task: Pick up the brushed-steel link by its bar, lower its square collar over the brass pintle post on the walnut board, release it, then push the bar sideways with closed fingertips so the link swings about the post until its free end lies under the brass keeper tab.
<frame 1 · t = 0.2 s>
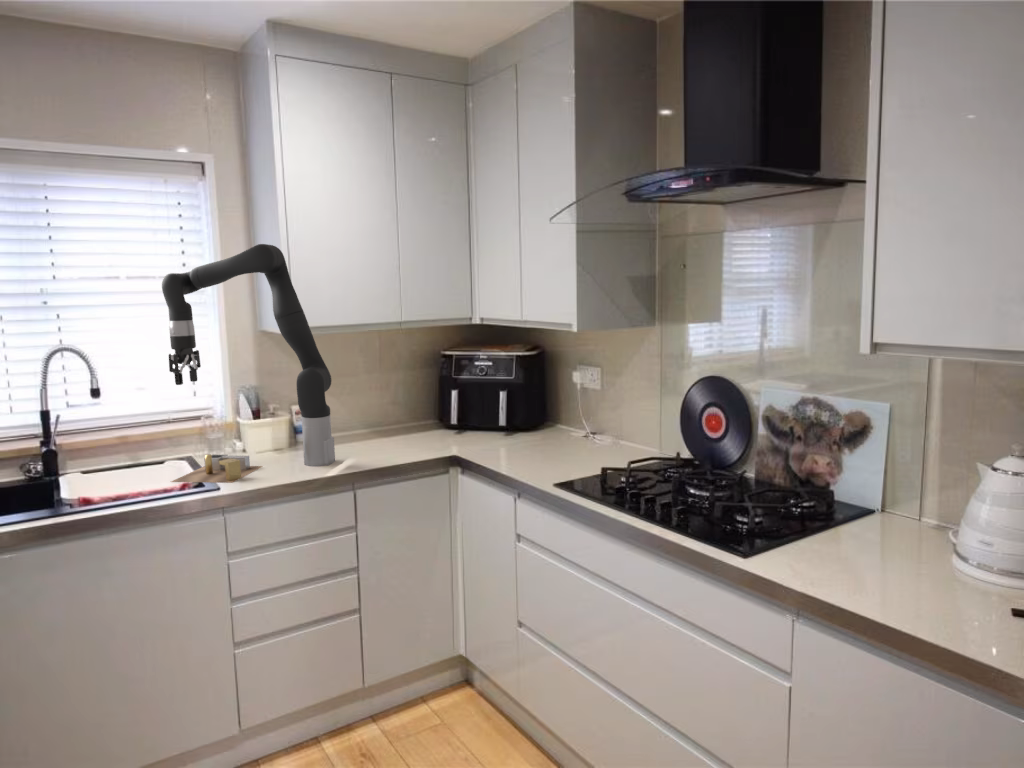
hand: (186, 383, 241), 28 cm above the worktop, fingers open, 8 cm apart
keeper: (230, 469, 222), on the board, point 4 cm above the worktop
link: (247, 468, 234), point 1 cm above the worktop, touching board
board: (218, 477, 228), on the worktop
pintle: (208, 464, 228), on the board, point 4 cm above the worktop
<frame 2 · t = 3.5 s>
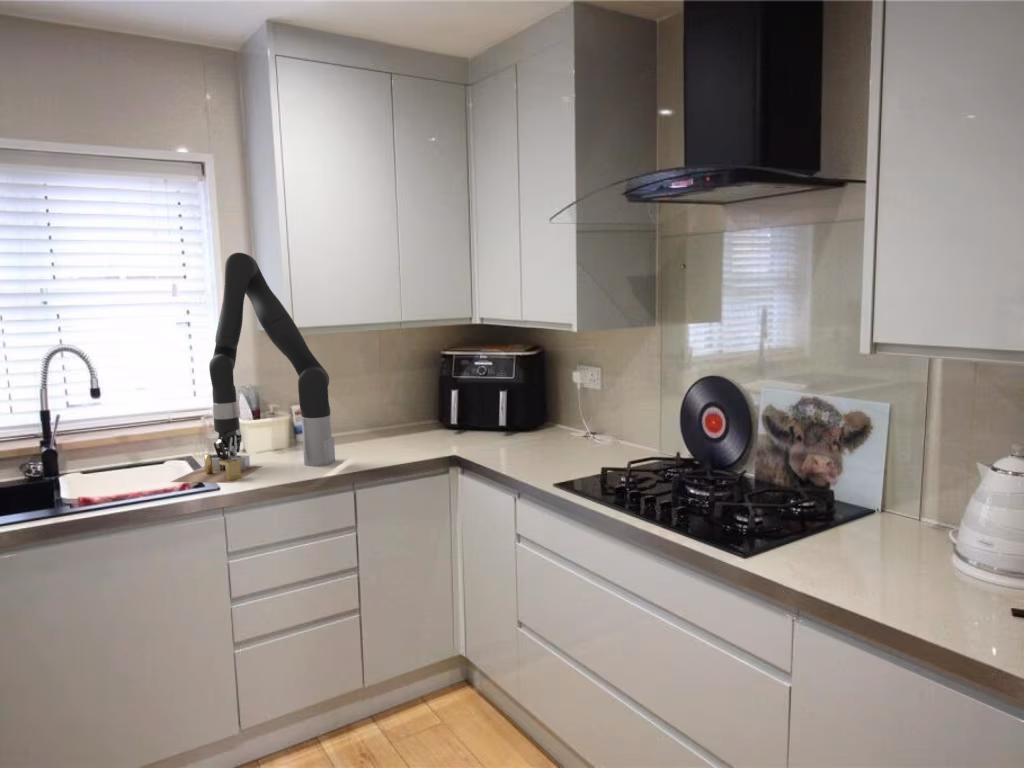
hand: (230, 468, 235), 1 cm above the worktop, fingers closed on link, 3 cm apart
link: (247, 468, 234), point 1 cm above the worktop, touching board, gripper
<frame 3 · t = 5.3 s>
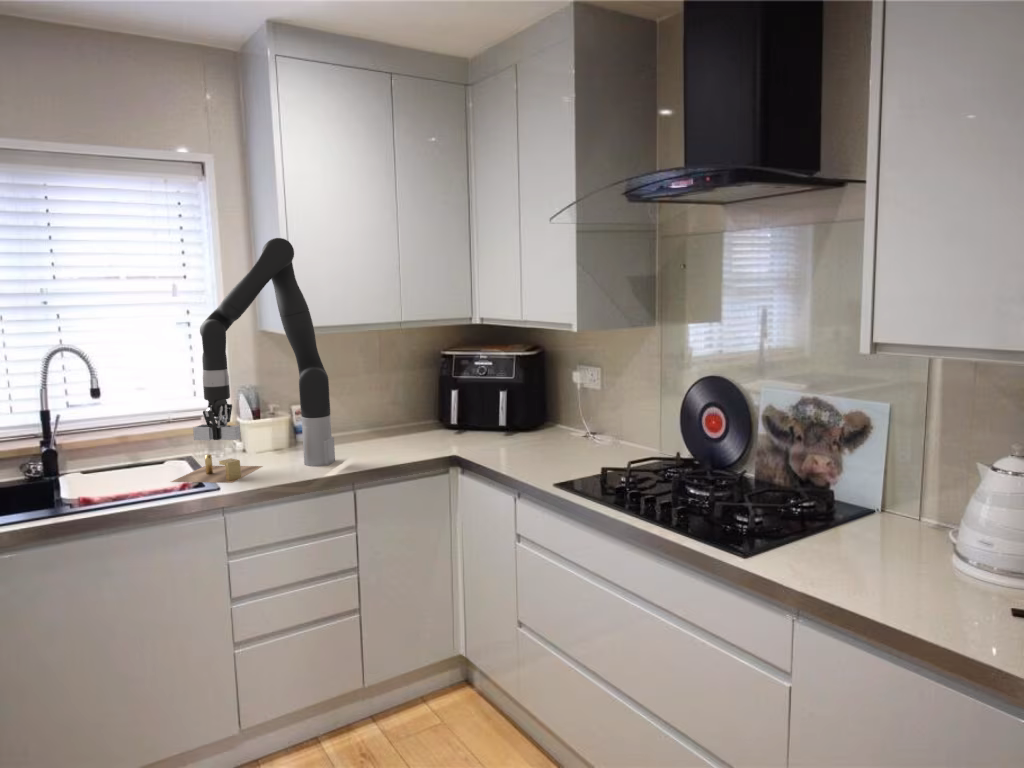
hand: (219, 438, 227), 13 cm above the worktop, fingers closed on link, 3 cm apart
link: (238, 438, 226), point 12 cm above the worktop, touching gripper
when the fingers open (2 cm above the worktop, at t = 7.3 s): link stays where it is, resting on board.
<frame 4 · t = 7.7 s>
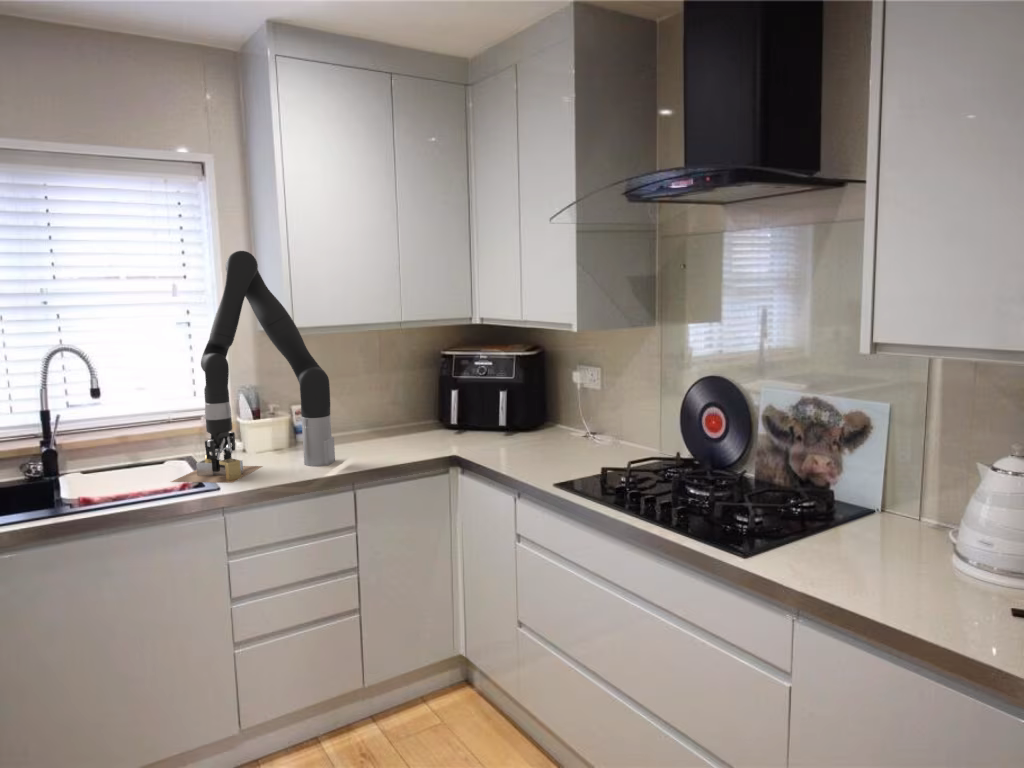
hand: (222, 468, 228), 3 cm above the worktop, fingers open, 6 cm apart
link: (241, 473, 227), point 1 cm above the worktop, touching board
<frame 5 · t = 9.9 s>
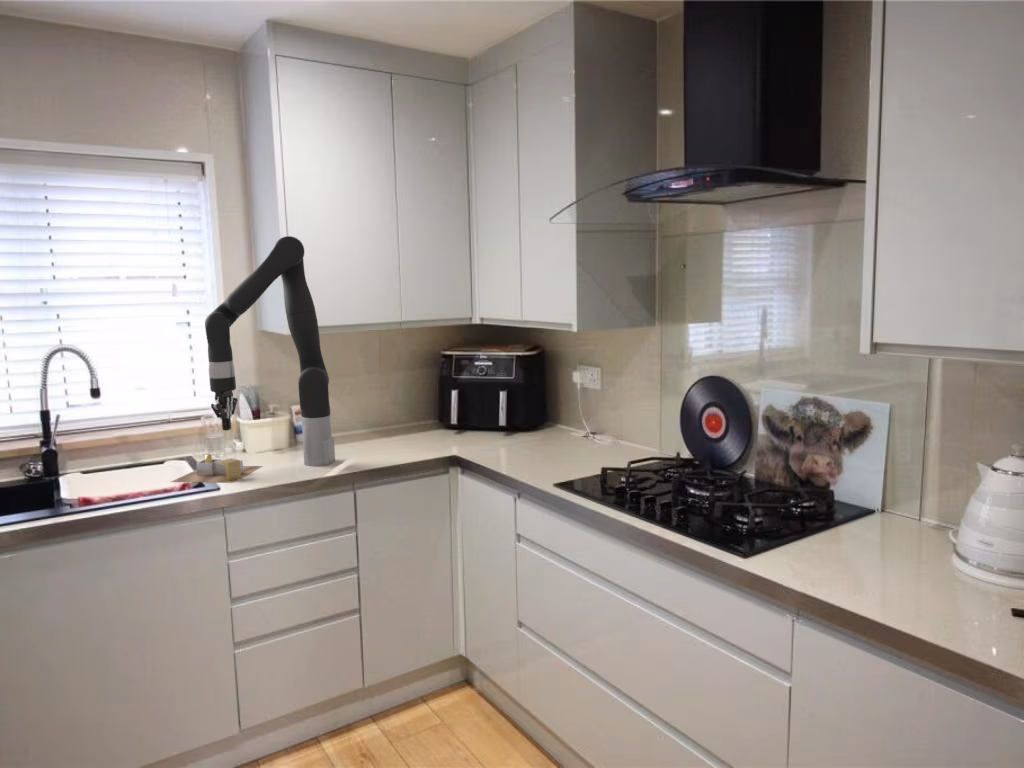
hand: (227, 429, 229), 15 cm above the worktop, fingers closed
nothing on the worktop moved.
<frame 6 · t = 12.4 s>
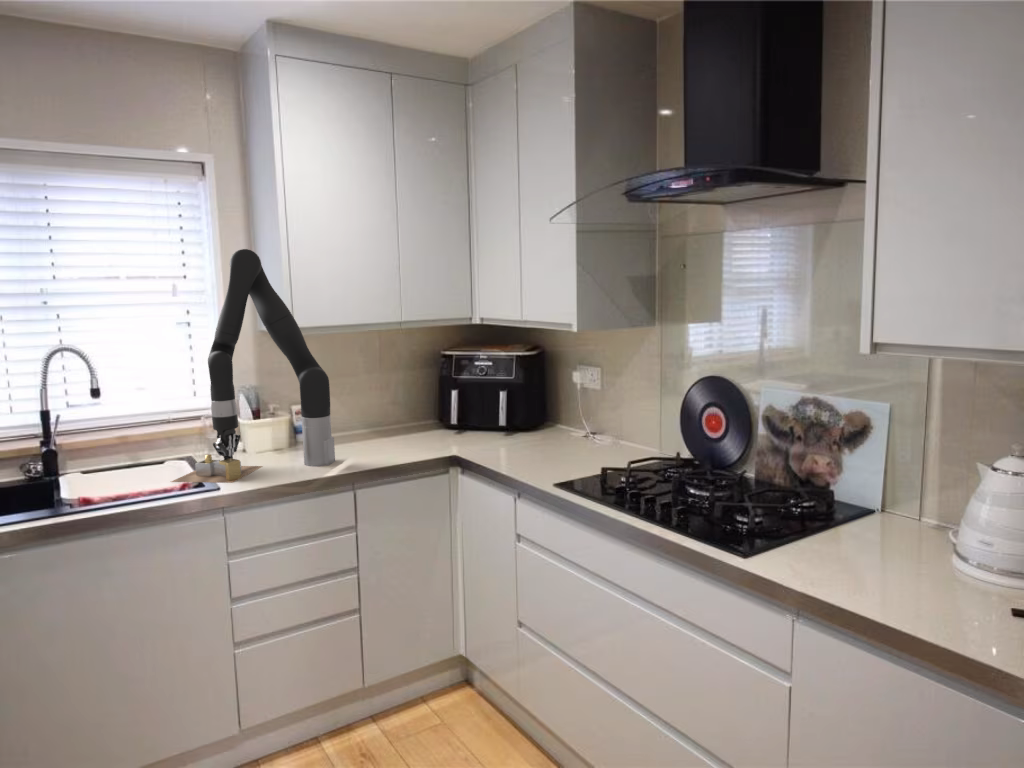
hand: (229, 467, 230), 3 cm above the worktop, fingers closed
link: (238, 475, 226), point 1 cm above the worktop, touching gripper
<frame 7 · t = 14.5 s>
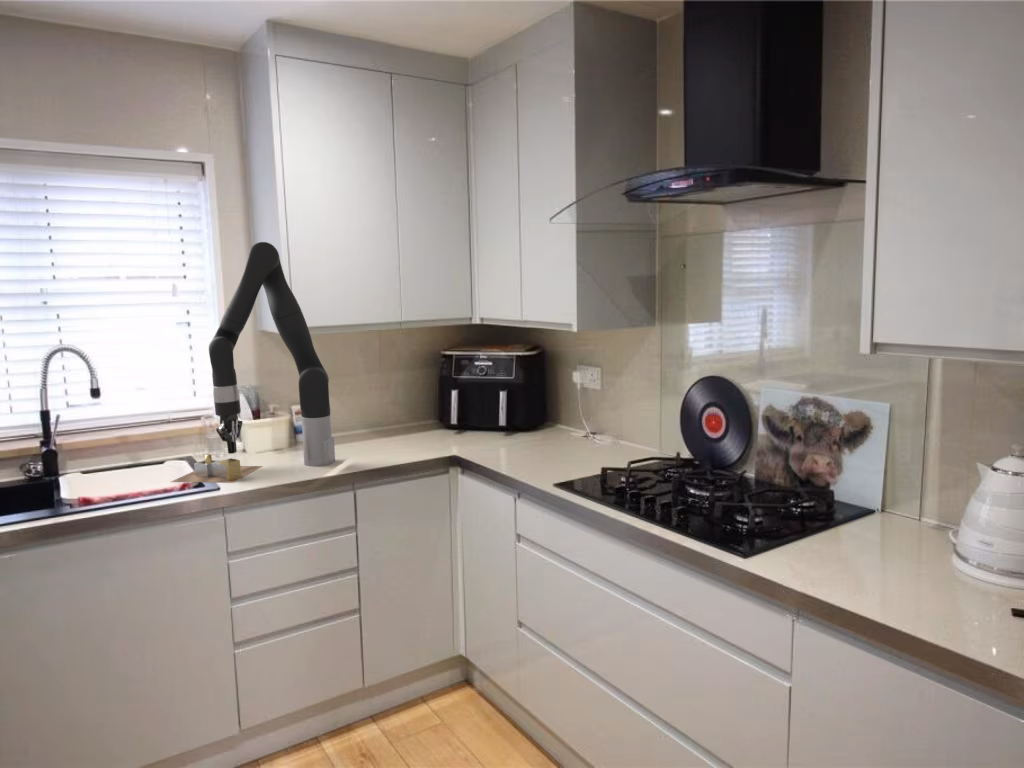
hand: (232, 452, 232), 7 cm above the worktop, fingers closed
link: (234, 477, 224), point 1 cm above the worktop, touching board, pintle
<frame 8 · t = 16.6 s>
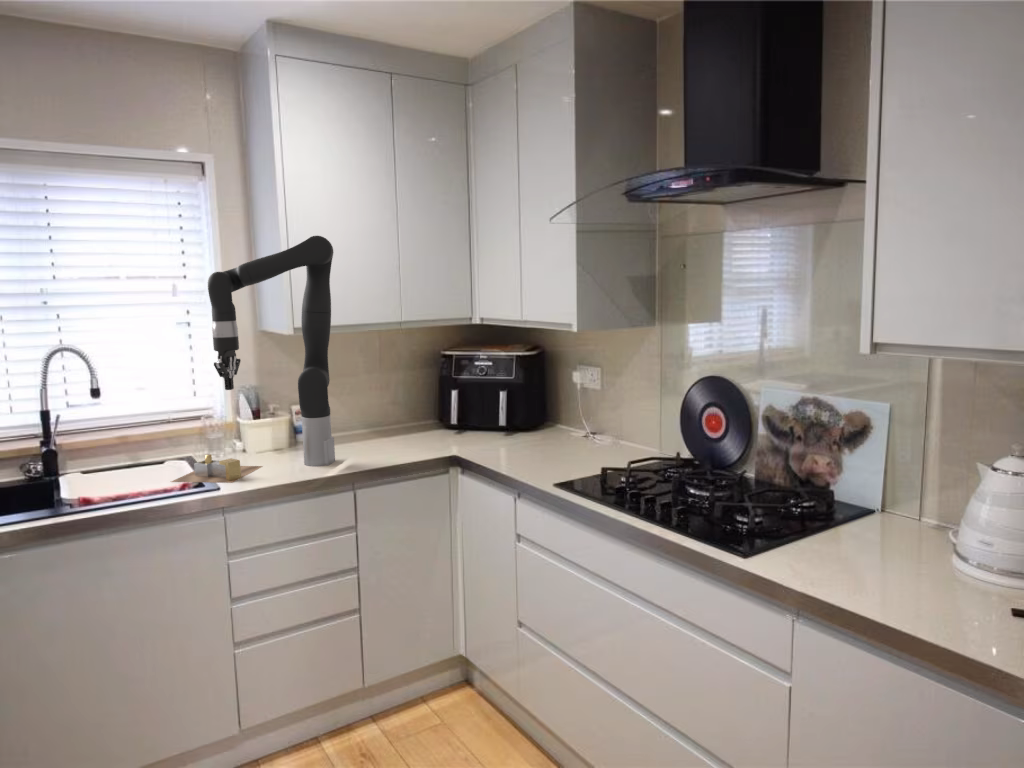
hand: (229, 389, 231), 27 cm above the worktop, fingers closed
nothing on the worktop moved.
at the end: link 1.9 cm from the target spot, point 1.2 cm above the worktop; link 1.8 cm from the target spot on the worktop beside the pintle, resting on board; link tilted 0° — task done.
